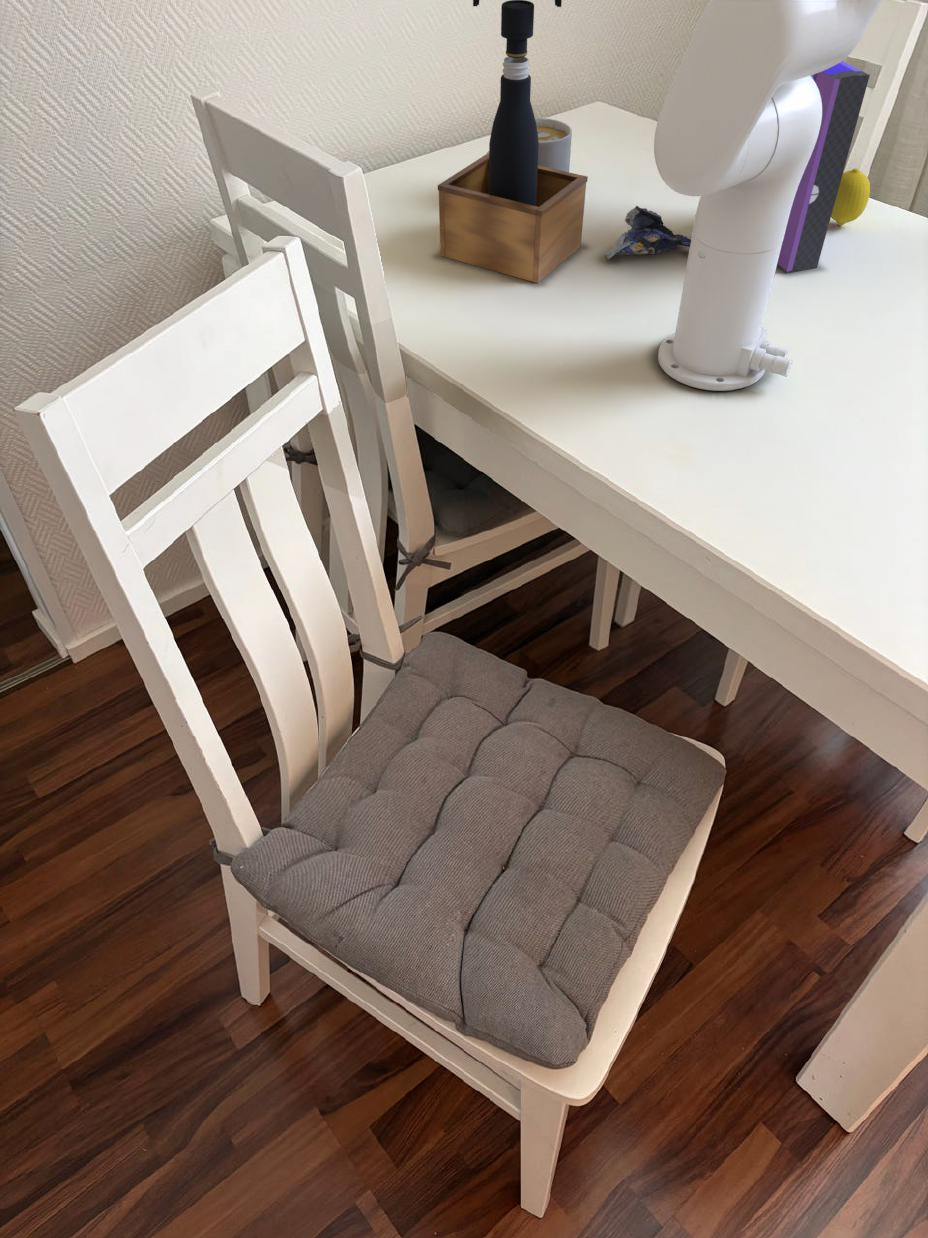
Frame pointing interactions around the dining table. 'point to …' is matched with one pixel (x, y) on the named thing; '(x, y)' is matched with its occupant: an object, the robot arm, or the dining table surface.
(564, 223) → the wooden box
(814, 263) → the cereal box
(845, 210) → the lemon
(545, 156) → the coffee mug
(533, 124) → the navy water bottle
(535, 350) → the dining table surface
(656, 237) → the snack package
